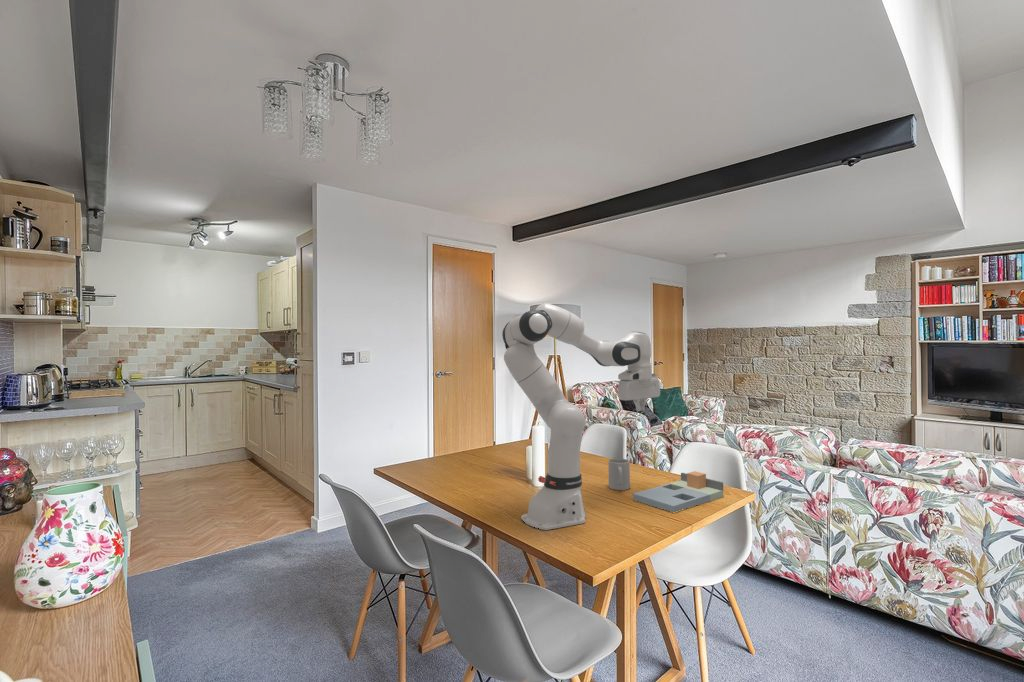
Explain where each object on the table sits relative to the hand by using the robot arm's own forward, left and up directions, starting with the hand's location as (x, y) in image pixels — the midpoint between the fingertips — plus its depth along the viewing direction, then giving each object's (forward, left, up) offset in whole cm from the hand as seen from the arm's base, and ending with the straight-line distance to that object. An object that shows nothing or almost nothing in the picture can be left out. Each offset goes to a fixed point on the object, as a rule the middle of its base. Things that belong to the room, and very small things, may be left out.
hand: (640, 410), depth 182 cm
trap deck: (+10, -9, -33) cm, 36 cm away
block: (+21, -9, -30) cm, 38 cm away
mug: (+2, +13, -33) cm, 36 cm away
